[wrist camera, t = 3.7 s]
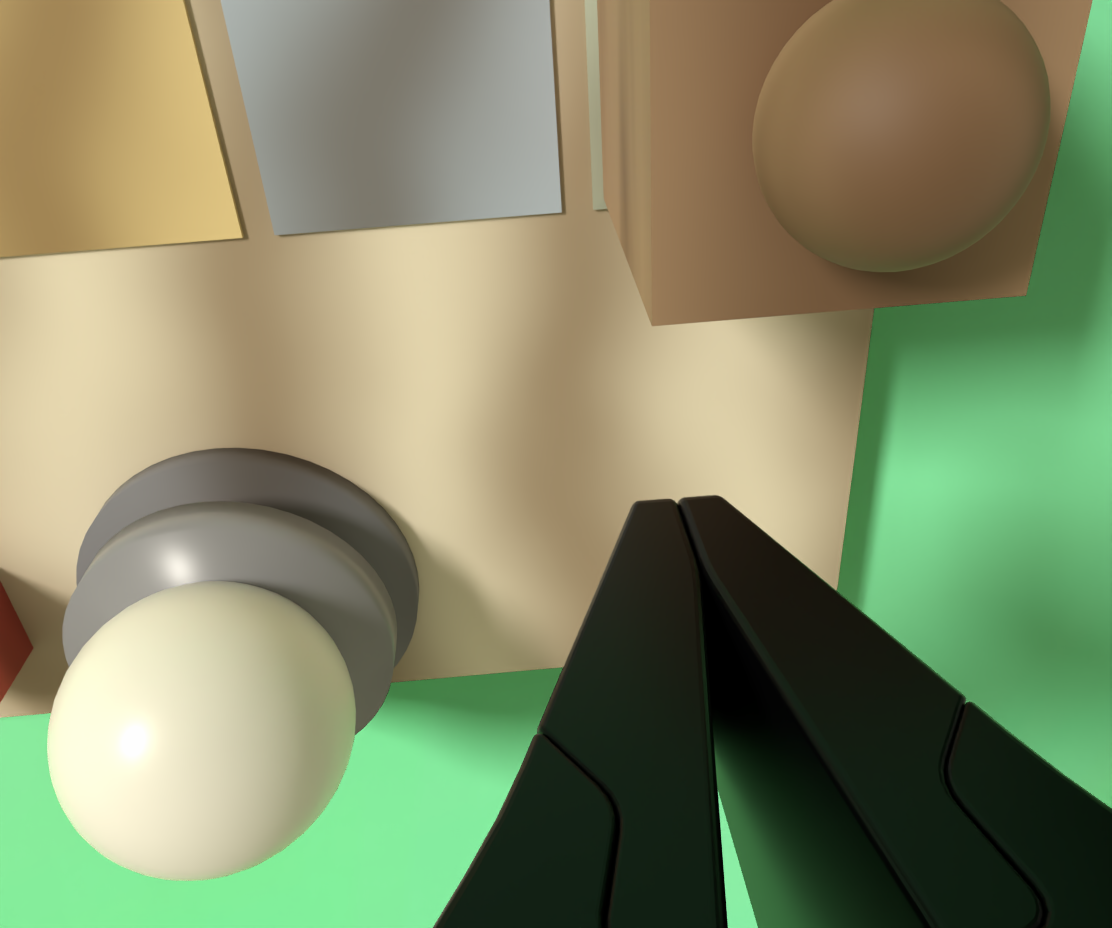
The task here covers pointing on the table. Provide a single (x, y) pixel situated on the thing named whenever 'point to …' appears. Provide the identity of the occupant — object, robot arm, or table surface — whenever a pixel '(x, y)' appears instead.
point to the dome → (215, 686)
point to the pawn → (831, 149)
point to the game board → (365, 318)
